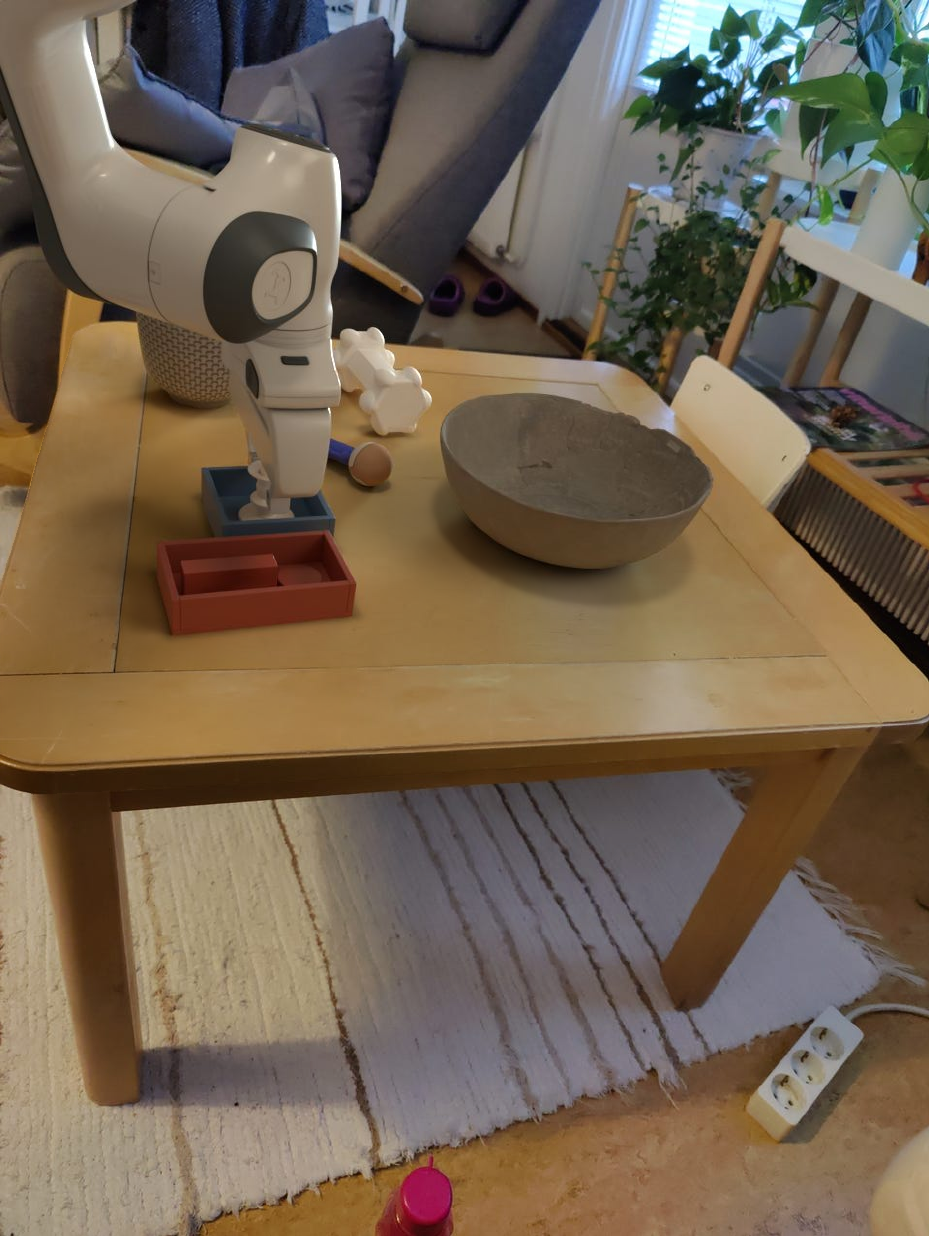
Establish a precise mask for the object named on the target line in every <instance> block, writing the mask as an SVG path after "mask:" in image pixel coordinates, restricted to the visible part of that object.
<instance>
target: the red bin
mask: <svg viewBox="0 0 929 1236" xmlns="http://www.w3.org/2000/svg"><path fill="white" fill-rule="evenodd" d="M267 554H273V556H274V559H275V561H276V563H277V566H278V569H277V576H278V573H279V571H280V570H281V569H282V568H284V567H286V566H289V565H306V566H309V567H312V568H314V569H316V570H317V571H318V572H319V573H320V574H321V576H322V583H312V584H301V585H290V586H279V587H277V583H276V587H268V588H258V589H247V590H236V591H225V592H214V593H203V594H192V595H181V575H180V561H185V560H199V559H213V558H226V557H240V556H254V555H267ZM155 556H156V557H155V559H156V578H157V581H158V585H159V589H160V593H161V597H162V601H163V605H164V609H165V613H166V616H167V621H168V624H169V628H170V632H171V636H172V637H176V636H184V635H185V636H186V635H194V634H195V635H196V634H203V633H211V632H212V633H213V632H220V631H221V632H222V631H230V630H231V631H232V630H238V629H247V628H248V629H249V628H250V629H251V628H257V627H258V628H259V627H266V626H274V625H275V626H277V625H285V624H294V623H303V622H304V623H305V622H313V621H320V620H321V621H322V620H329V619H338V618H349V617H353V611H354V606H355V598H356V590H357V582H356V579H355V578H354V575H353V574H352V571H351V570H350V568H349V566H348V564H347V562H346V561H345V559H344V556H343V554H342V553H341V550H340V549H339V547H338V545H337V543H336V541H335V539H334V538H333V537H332V536H331V534H330V532H329V530H325V531H310V532H294V533H279V534H264V535H249V536H234V537H219V538H215V537H206V538H205V537H204V538H192V539H191V538H190V539H175V540H160V541H159V540H158V541H155Z"/></svg>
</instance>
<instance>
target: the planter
mask: <svg viewBox="0 0 929 1236" xmlns="http://www.w3.org/2000/svg"><path fill="white" fill-rule="evenodd" d="M135 316H136V317H135V318H136V326H137V333H138V341H139V346H140V347H139V348H140V352H141V357H142V361H143V365H144V368H145V370H146V372H147V374H148V376H149V378H150V379H151V381H153V382H154V383H155V384H156V386H158V387H160V388H161V389H162V390H163V391H164V392H167V393H168V395H169V397H170V398H171V399H172V400H173V401H175V402H176V403H177V404H180V405H182V406H185V407H188V408H192V409H199V410H213V409H220V408H223V407H226V406H227V405H229V404H230V403H231V402H232V400H231V397H230V392H229V369H228V368H227V367H226V366H225V365H224V364H223V362H222V359H221V347H222V341H220V340H216V339H212V338H210V337H207V336H204V335H201V334H198V333H195V332H193V331H190V330H187V329H185V328H182V327H177V326H174V325H171V324H169V323H166V322H163V321H161V320H158V319H155V318H153V317H150V316H147V315H145V314H142V313H139V312H136V311H135Z"/></svg>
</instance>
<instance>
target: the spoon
mask: <svg viewBox="0 0 929 1236" xmlns="http://www.w3.org/2000/svg"><path fill="white" fill-rule="evenodd" d="M277 569H278V566H277V563H276V561H275V559H274V556H273V554H267V555H254V556H240V557H226V558H213V559H199V560H185V561H180V575H181V595H192V594H203V593H214V592H225V591H236V590H247V589H258V588H268V587H276V583H277V587H279V586H290V585H301V584H312V583H322V576H321V574H320V573H319V572H318V571H317V570H316V569H314V568H312V567H309V566H306V565H289V566H286V567H284V568H282V569H281V570H280V571H279V573H278V576H277Z"/></svg>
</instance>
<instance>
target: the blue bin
mask: <svg viewBox="0 0 929 1236" xmlns="http://www.w3.org/2000/svg"><path fill="white" fill-rule="evenodd" d="M248 466H249V465H231V466H229V465H228V466H204V467H201V469H200V470H201V471H200V475H201V477H200V500H201V503H202V506H203V508H204V510H205V514H206V517H207V519H208V523H209V525H210V528H211V531H212V534H213V536H214V537H213V538H219V537H234V536H249V535H264V534H279V533H294V532H310V531H325V530H329V532H330V534H331V536H332V537H333V539H334V538H335V537H334V536H335V530H336V529H335V527H336V519H337V518H336V517H335V514H334V512H333V511H332V509H331V507H330V505H329V504H328V502H327V500H326V498H325V496H324V494H323V492H322V490H321V489H320V490H319V492H318V493H317V494H316V495H315V496H313V497H301V498H290V510H291V511H292V512H293V514H294V518H277V519H260V520H243V521H239V518H238V513H239V511H240V509H241V508H242V507H243V506H245V505H247V504H249V503H251V502H250V496H251V494H252V493H253V492H254V491H256V490H257V488H256V483H257V481H258V480H257V478H255V477H253V476H252V475H250V473H249V472H248Z"/></svg>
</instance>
